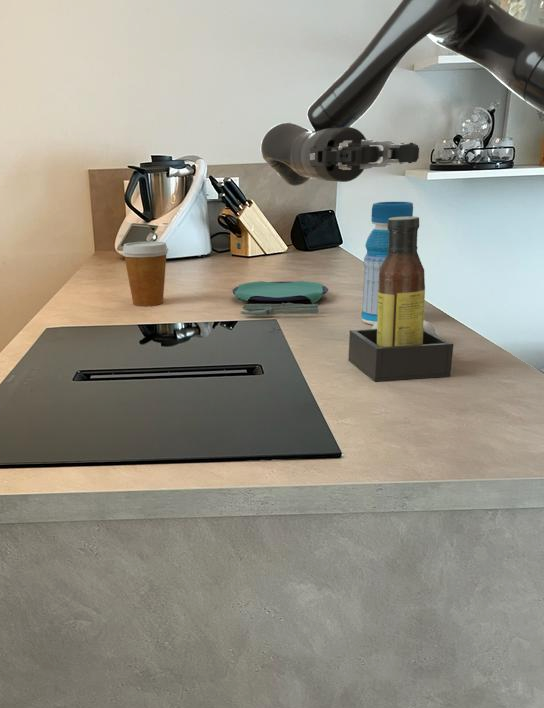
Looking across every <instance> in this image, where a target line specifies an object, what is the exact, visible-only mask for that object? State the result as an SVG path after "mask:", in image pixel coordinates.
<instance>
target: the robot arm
mask: <svg viewBox="0 0 544 708" xmlns="http://www.w3.org/2000/svg"><path fill="white" fill-rule="evenodd" d="M427 37H428V38H429V39H430V40H431V41H432V42H433V43H435V44H436V45H438V46H440V47H442V48H444V49H447V50H449V51H451V52H453V53H455V54H457V55H460V56H461V57H464V58H465V59H468V60H470V61H472V62H474V63H476V64H477V65H480V66H481V67H483V68H484V69H486V70H487V71H488V72H489V73H490V74H492V75H493V77H495V78H496V79H497V80H498V81H499V82H500V83H501V84H503V85H504V86H505V87H506V88H507V89H508V90H510V91H511V92H512V93H513V94H515V95H516V96H517V97H518V98H520V99H521V100H523V101H524V102H525V103H527V104H529V105H530V106H531V107H533V108H535V109H536V110H537V111H539V112H541V113H542V114H543V115H544V25H539V24H533V23H529V22H526V21H524V20H523V21H522V20H520V19H519V18H516V17H515V16H513V15H512V14H511V13H509V12H508V11H506V9H503V8H502V7H501V6H500V5H499V4H497V3H496V2H495V1H494V0H401V2H400V3H399V4H398V6H397V7H396V8H395V10H394V11H393V12H392V14H390V16H389V17H388V19H387V20H386V21H385V22H384V24H383V25H382V26H381V27H380V29H379V30H378V32H377V33H376V34H375V36H374V37H373V38H372V39H371V40H370V42H369V43H368V44H367V45H366V47H365V48H364V49H363V50H362V52H361V53H360V54H359V55H358V56H357V58H356V59H355V60H354V61H353V62H352V63H351V64H350V65H349V66H348V67H347V68H346V69H345V71H343V73H342V74H341V75H339V77H338V78H336V80H334V82H332V84H330V85H329V87H328V88H327V89H325V90H324V92H323V93H321V94H320V96H318V98H316V100H314V102H312V104H311V105H310V106H309V107H308V109H307V112H306V117H307V120H308V122H309V124H310V126H311V128H312V129H313V131H312V130H310V129H308V128H306V127H303V126H302V125H300V124H299V125H298V124H296V123H294V122H287V121H286V122H281V123H278V124H276V125H274V126H272V127H271V128H269V130H268V131H266V133H265V134H264V135H263V138H262V140H261V142H260V154H261V157H262V159H263V160H264V161H265V163H266V164H268V166H270V167H271V168H272V170H273V171H274V172H276V173H277V175H278V176H279V177H280V178H281V179H283V181H284V182H285V183H286V184H288V185H290V186H292V187H299V186H302V185H304V184H306V183H307V182H309V181H310V180H311V179H316V180H319V181H324V182H325V181H326V182H339V183H347V182H351V181H353V180H356V179H357V178H358V177H360V176H361V174H362V173H363V172H364V171H365V170H369V169H372V168H387V167H390V166H391V165H392V164H400V165H403V164H405V163H408V164H412V163H417V162H418V160H419V156H420V147H419V145H418V144H416V143H414V142H409V143H405V142H400V143H394V142H392V141H391V140H376V141H375V140H374V139H367V138H366V136H365V135H364V134H363V132H362V131H360V130H359V129H357V128H354V127H352V126H353V125H355V123H357V122H358V121H359V119H361V118H362V117H364V116H365V114H366V113H367V112H368V111H369V110H370V108H371V107H372V106H373V105H374V104H375V102H376V101H377V99H378V98H379V97H380V94H381V93H382V91H383V89H384V88H385V86H386V84H387V82H388V81H389V79H390V77H391V75H392V74H393V72H394V70H395V69H396V68H397V66H398V65H399V63H400V62H401V61H402V59H403V58H404V57H405V56H406V55H407V53H408V52H410V51H411V50H412V48H414V47H415V46H416V45H417V44H418V43H420V42H421V41H422V40H423V39H424V38H427ZM381 146H382V147H381ZM382 148H383V149H382ZM381 158H382V160H381ZM380 160H381V162H380Z"/></svg>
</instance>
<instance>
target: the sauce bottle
mask: <svg viewBox="0 0 544 708" xmlns="http://www.w3.org/2000/svg"><path fill="white" fill-rule="evenodd" d="M387 228H388V231H389V247H388V255H387V257H386V258H385V260H384V262H383V263H382V265H381V267H380V272H379V290H378V317H377V345H378V346H379V347H391V346H407V345H422V344H423V324H424V320H425V301H426V299H425V298H426V297H425V296H426V283H425V282H426V281H425V268H424V266H423V263H422V261H421V258H420V256H419V254H418V253H419V252H418V231H419V228H420V217H419V216H406V217H393V218H389V219H388V227H387Z"/></svg>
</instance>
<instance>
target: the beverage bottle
mask: <svg viewBox="0 0 544 708" xmlns="http://www.w3.org/2000/svg"><path fill="white" fill-rule="evenodd" d="M413 213H414V203H413V202H410V201H379V202H373V204H372V207H371V215H370V217H371V218H370V220H371V224H372V225H374V227H373V229H372V230H371V231H370V233H369V235H368V237H367V239H366V241H365V248H366V254H365V256H364V258H363V267H364V270H363V272H364V273H363V295H362V310H361V321H362V322H363V323H365V324H367V325H372V326H373V325H374V324H375V323H376V322H377V317H378V290H379V272H380V267H381V265H382V263H383V262H384V260H385V258H386V257H387V255H388V247H389V231H388V228H387V227H388V219H389V218H393V217H406V216H412V217H414V216H413V215H414V214H413Z"/></svg>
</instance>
